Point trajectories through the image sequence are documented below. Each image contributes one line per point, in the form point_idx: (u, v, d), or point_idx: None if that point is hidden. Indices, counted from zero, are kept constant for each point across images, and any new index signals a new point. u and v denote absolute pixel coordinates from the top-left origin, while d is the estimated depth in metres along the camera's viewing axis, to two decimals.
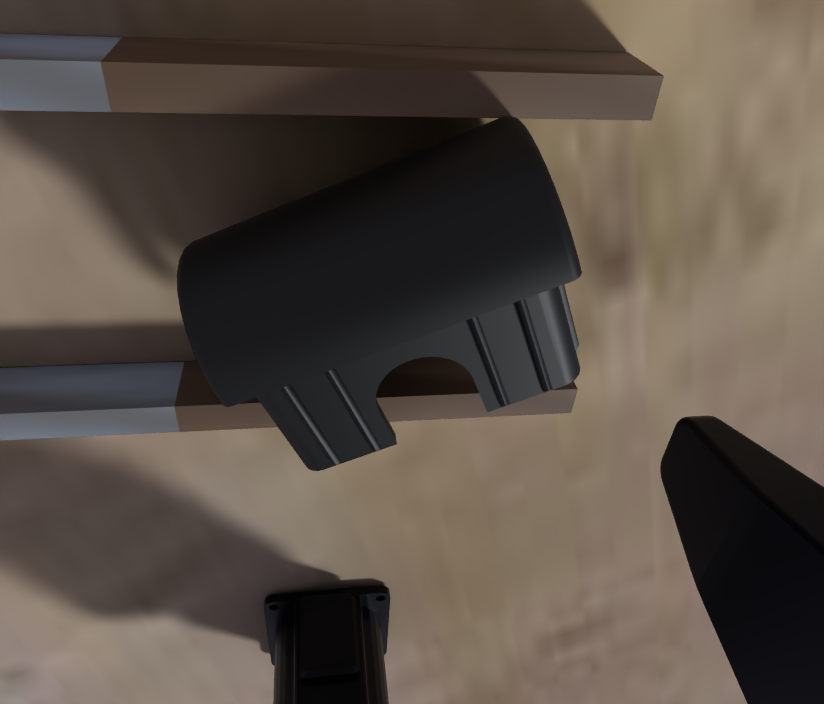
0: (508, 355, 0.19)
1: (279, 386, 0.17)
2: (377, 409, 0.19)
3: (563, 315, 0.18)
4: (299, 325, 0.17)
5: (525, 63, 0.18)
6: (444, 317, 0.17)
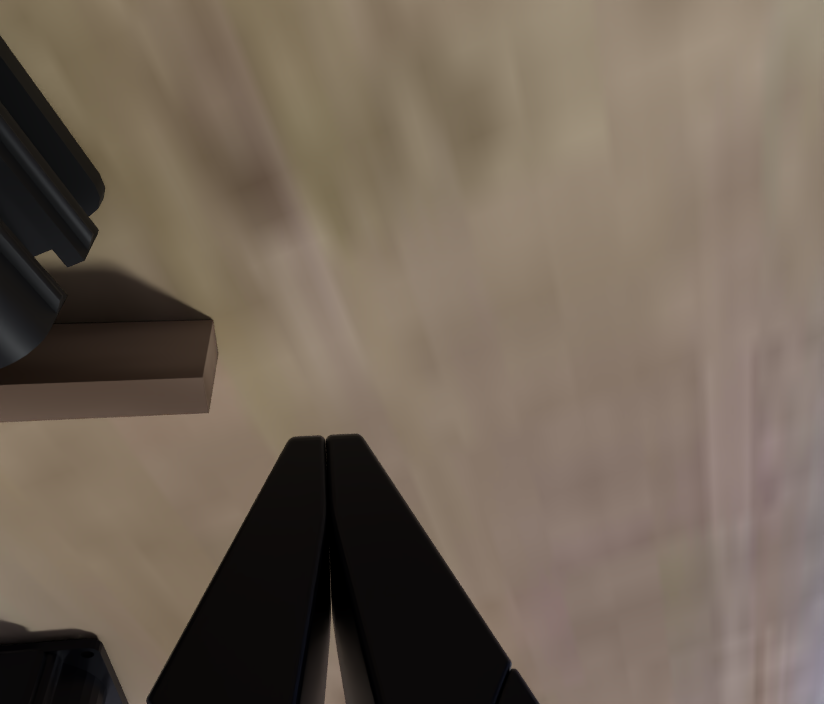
0: None
1: None
2: None
3: None
4: None
5: None
6: None
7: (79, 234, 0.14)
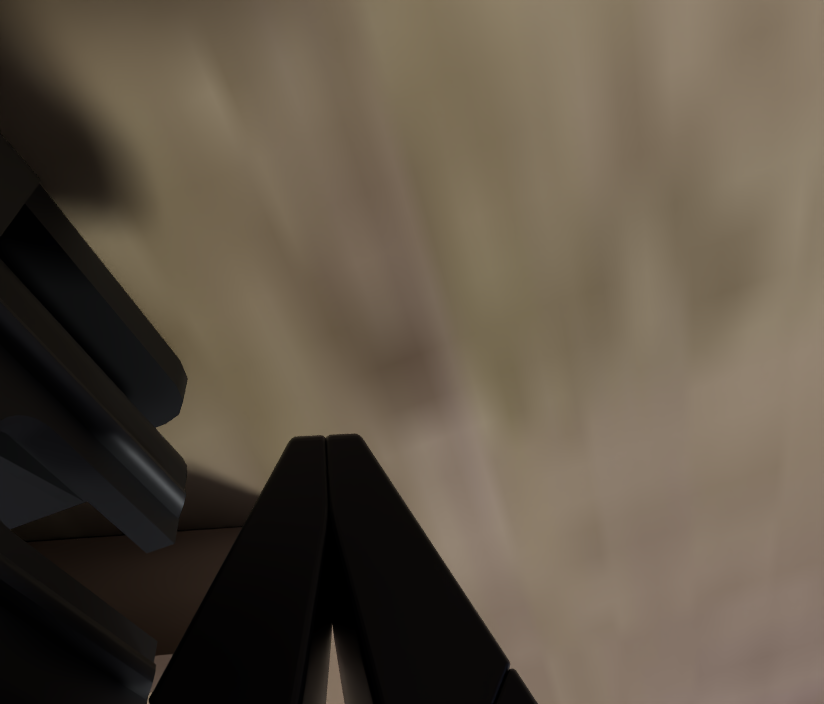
0: None
1: None
2: None
3: None
4: None
5: None
6: None
7: (166, 500, 0.08)
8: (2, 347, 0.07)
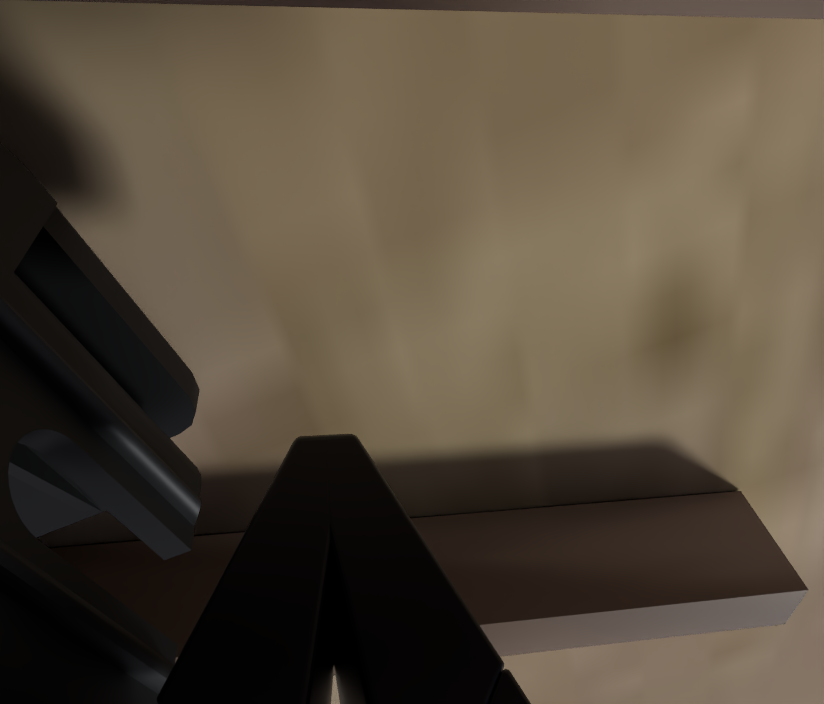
0: None
1: None
2: None
3: None
4: None
5: None
6: None
7: (182, 509, 0.09)
8: (25, 364, 0.07)
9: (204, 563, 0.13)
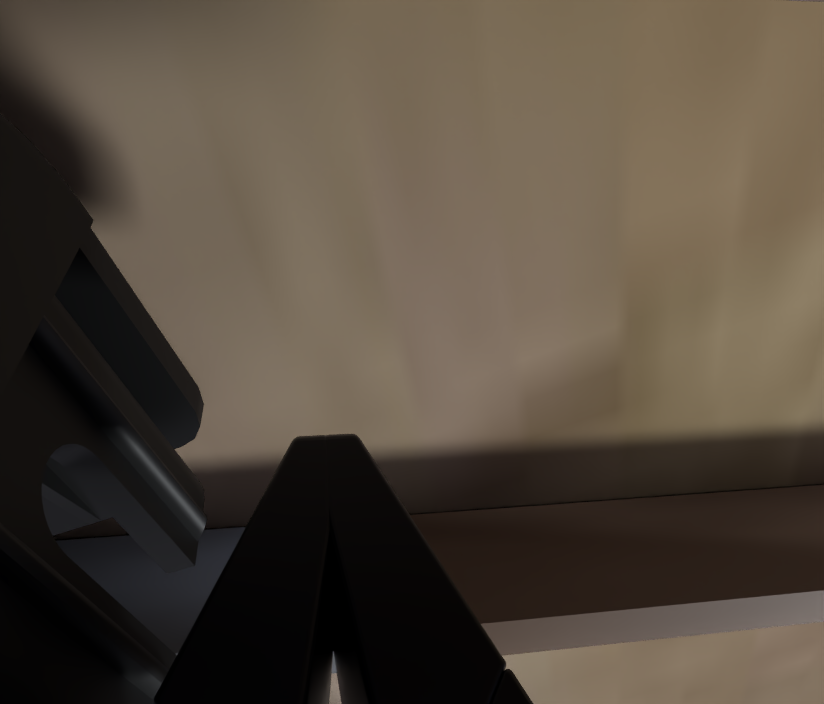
0: None
1: None
2: None
3: None
4: None
5: None
6: None
7: (188, 525, 0.09)
8: (58, 378, 0.07)
9: (492, 535, 0.13)
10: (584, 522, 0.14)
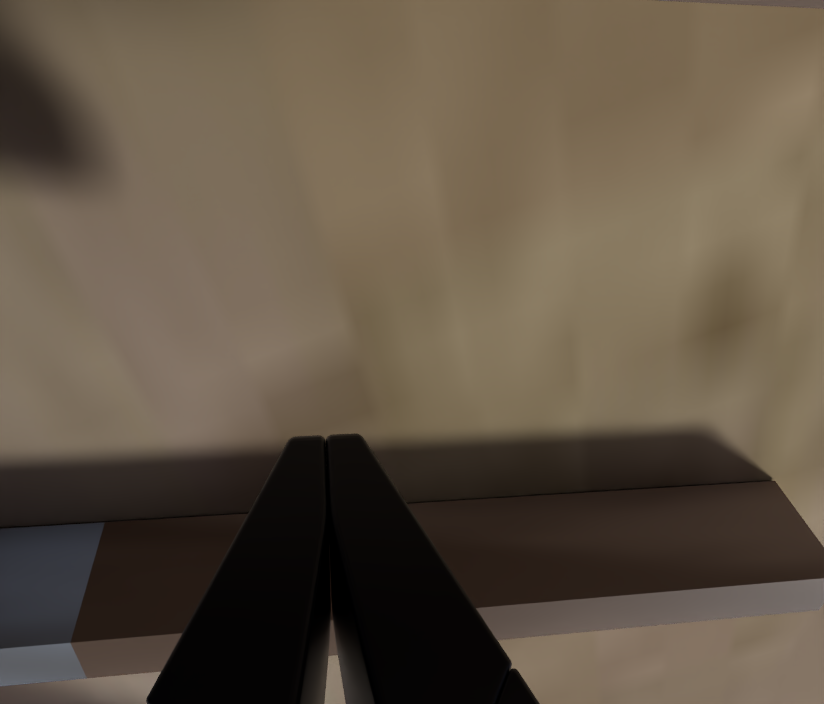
0: None
1: None
2: None
3: None
4: None
5: None
6: None
7: None
8: None
9: None
10: None
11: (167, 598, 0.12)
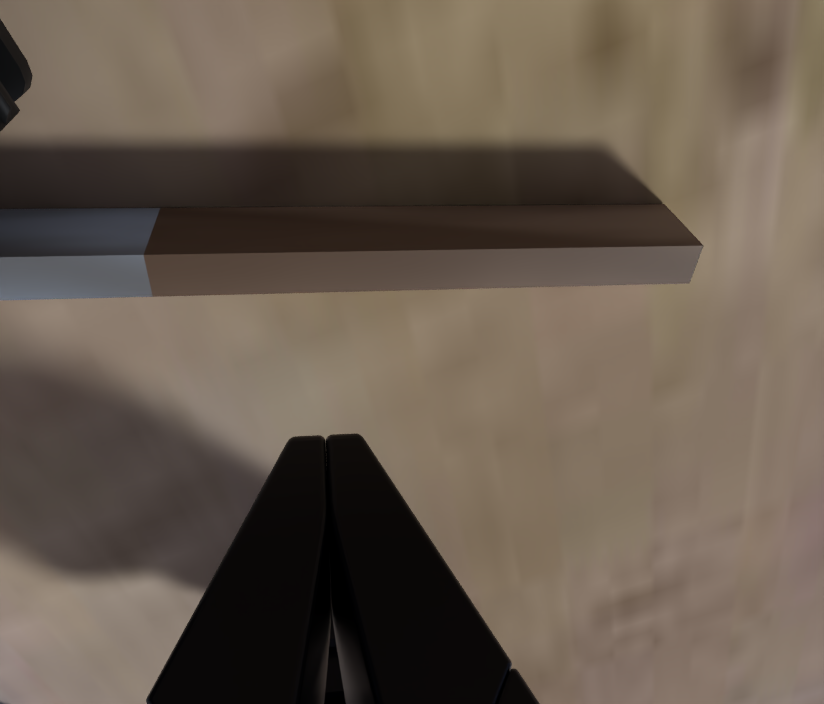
0: None
1: None
2: None
3: None
4: None
5: None
6: None
7: None
8: None
9: (271, 218, 0.18)
10: (344, 214, 0.18)
11: (209, 239, 0.17)
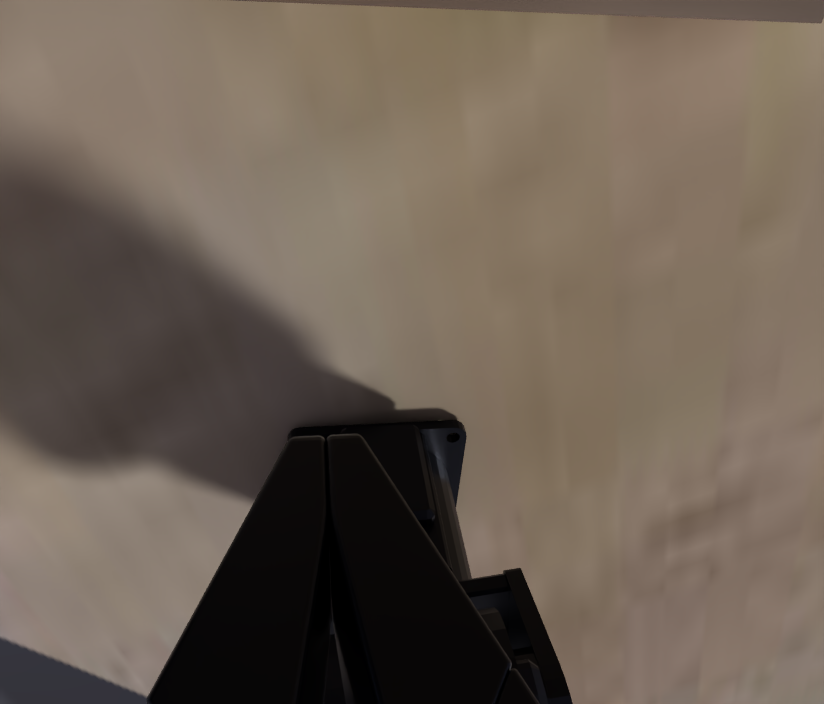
0: None
1: None
2: None
3: None
4: None
5: None
6: None
7: None
8: None
9: None
10: None
11: None
